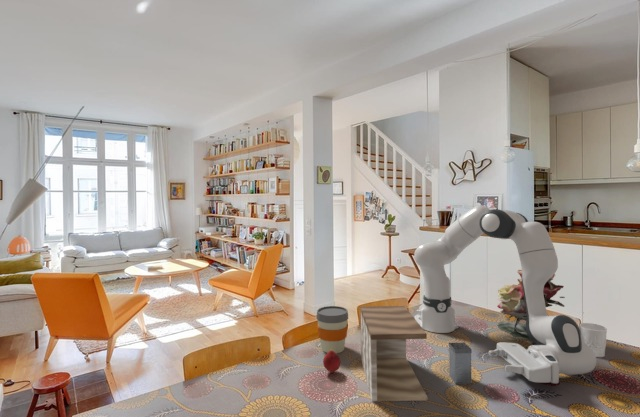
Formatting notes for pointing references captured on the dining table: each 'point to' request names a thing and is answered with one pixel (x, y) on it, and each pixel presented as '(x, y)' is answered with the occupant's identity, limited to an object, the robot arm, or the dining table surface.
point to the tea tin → (460, 363)
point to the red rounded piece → (331, 361)
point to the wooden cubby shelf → (389, 353)
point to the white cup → (594, 337)
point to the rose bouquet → (522, 305)
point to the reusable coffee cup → (332, 328)
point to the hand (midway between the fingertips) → (496, 360)
